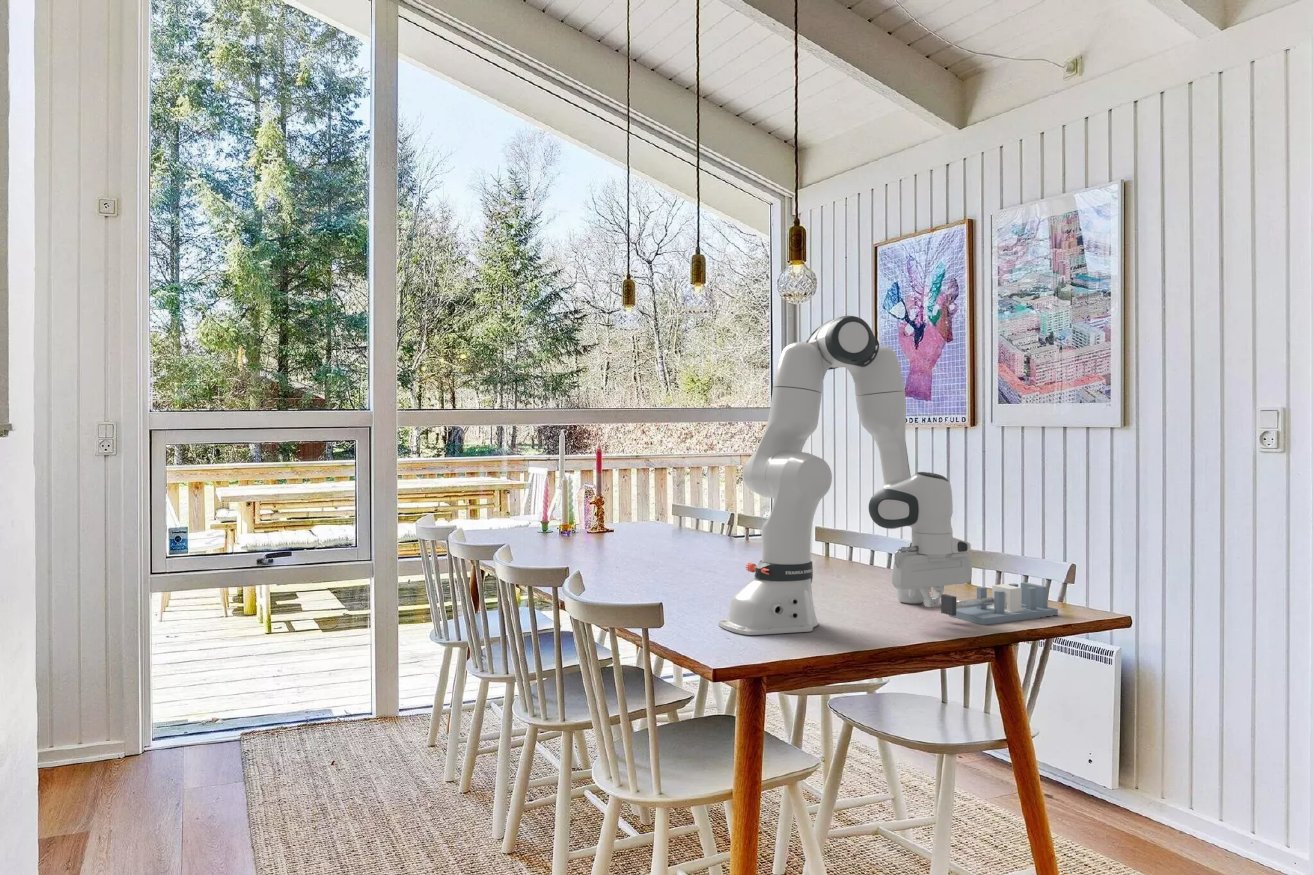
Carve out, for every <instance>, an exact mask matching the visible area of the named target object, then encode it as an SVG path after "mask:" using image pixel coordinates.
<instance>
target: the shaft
mask: <svg viewBox="0 0 1313 875" xmlns="http://www.w3.org/2000/svg"><path fill="white" fill-rule="evenodd" d="M987 605H994V598H993V597H992V596H990V597H987V598H979V599H977V598H972V599H963V600H957V596H954V595H952V594H948V593H947V594H946V593H944V594H943V593H942V595H941V597H940V613H941V614H945V615H948V616H949V615H951V616H950V617H952V616H955V615H956V609H962V608H970V607H979V606H987Z"/></svg>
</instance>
